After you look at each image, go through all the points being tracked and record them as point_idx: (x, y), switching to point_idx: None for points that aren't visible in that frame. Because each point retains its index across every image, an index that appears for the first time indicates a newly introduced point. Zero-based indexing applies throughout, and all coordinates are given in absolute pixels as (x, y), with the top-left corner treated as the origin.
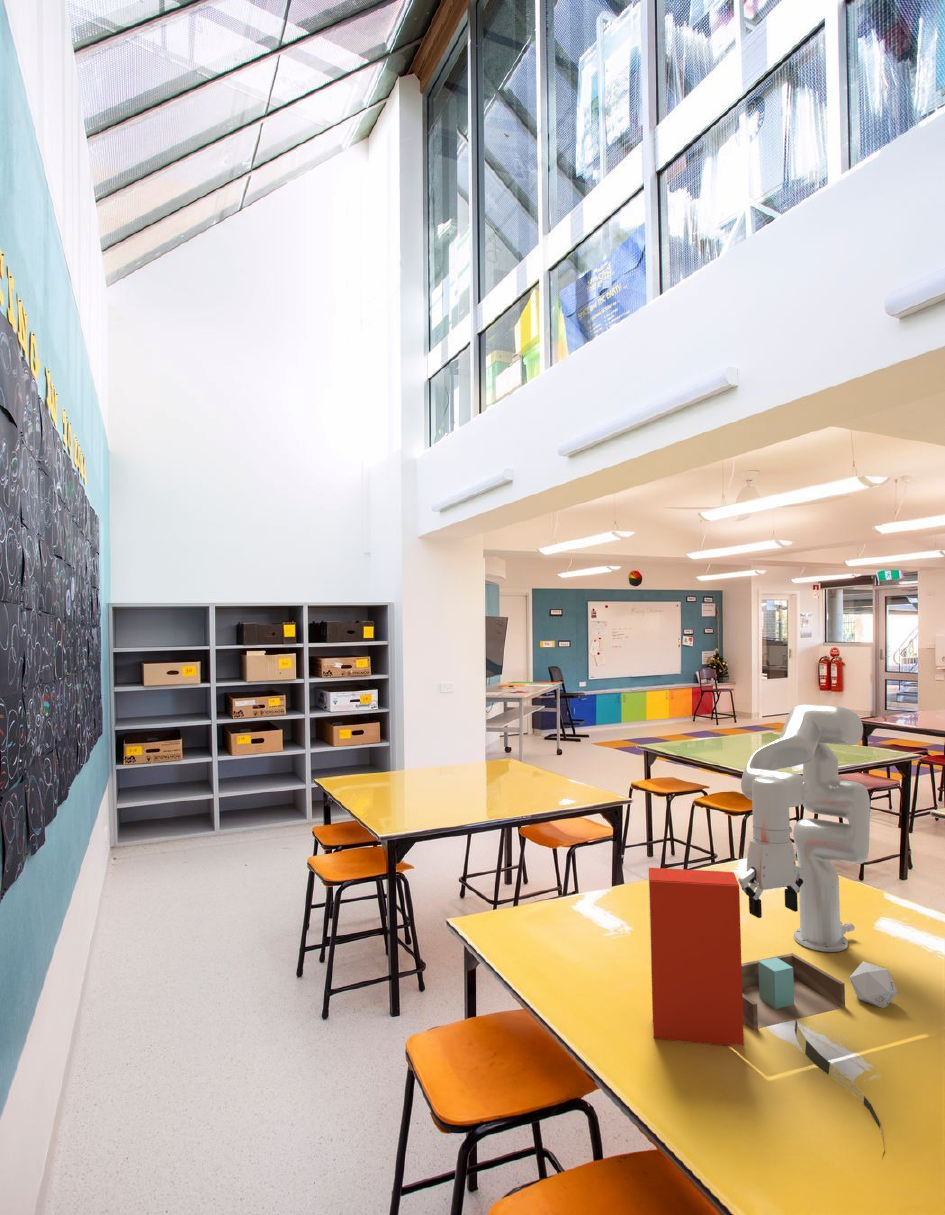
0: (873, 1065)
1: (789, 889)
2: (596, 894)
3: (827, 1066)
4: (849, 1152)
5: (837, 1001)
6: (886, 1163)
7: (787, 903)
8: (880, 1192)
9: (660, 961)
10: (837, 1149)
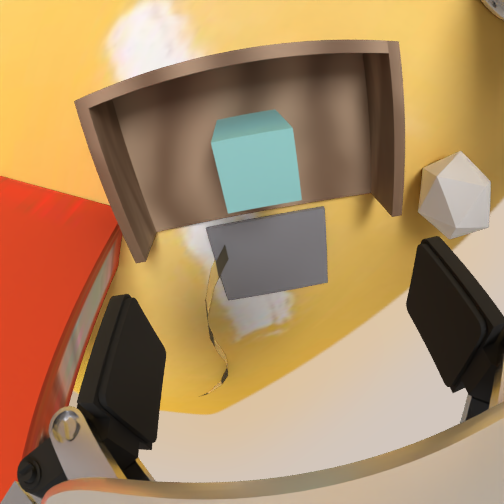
0: (293, 317)
1: (478, 374)
2: None
3: (213, 340)
4: (176, 390)
5: (373, 186)
6: (201, 398)
7: (429, 280)
8: (180, 408)
9: None
10: (167, 387)
